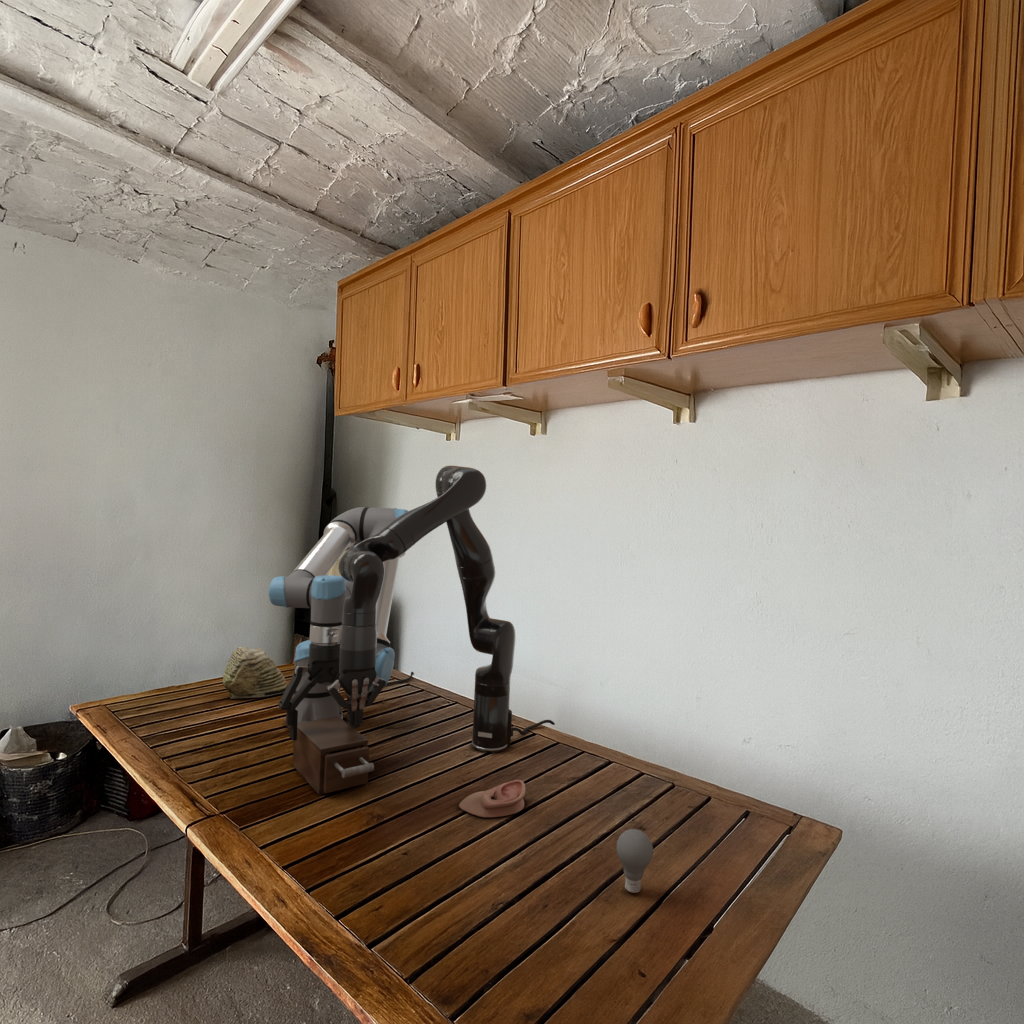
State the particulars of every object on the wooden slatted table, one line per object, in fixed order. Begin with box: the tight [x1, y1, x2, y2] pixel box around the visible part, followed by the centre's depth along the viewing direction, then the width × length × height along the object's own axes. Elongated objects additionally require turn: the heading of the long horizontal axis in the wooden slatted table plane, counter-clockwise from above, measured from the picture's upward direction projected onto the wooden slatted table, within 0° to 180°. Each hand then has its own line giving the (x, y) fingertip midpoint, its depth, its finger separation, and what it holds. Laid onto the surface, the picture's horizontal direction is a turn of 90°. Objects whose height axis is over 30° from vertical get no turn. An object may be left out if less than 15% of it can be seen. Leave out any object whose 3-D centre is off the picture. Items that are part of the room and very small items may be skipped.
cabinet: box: [292, 716, 369, 796], centre depth 145 cm, size 18×11×10 cm, turn 37°
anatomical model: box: [458, 779, 527, 818], centre depth 133 cm, size 13×4×12 cm
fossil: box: [222, 646, 288, 699], centre depth 198 cm, size 9×18×15 cm, turn 132°
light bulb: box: [615, 828, 654, 894], centre depth 106 cm, size 6×6×10 cm
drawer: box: [324, 746, 375, 794], centre depth 140 cm, size 22×10×8 cm, turn 37°
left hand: (322, 733), depth 148 cm, fingers open, 13 cm apart
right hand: (355, 726), depth 133 cm, fingers closed
